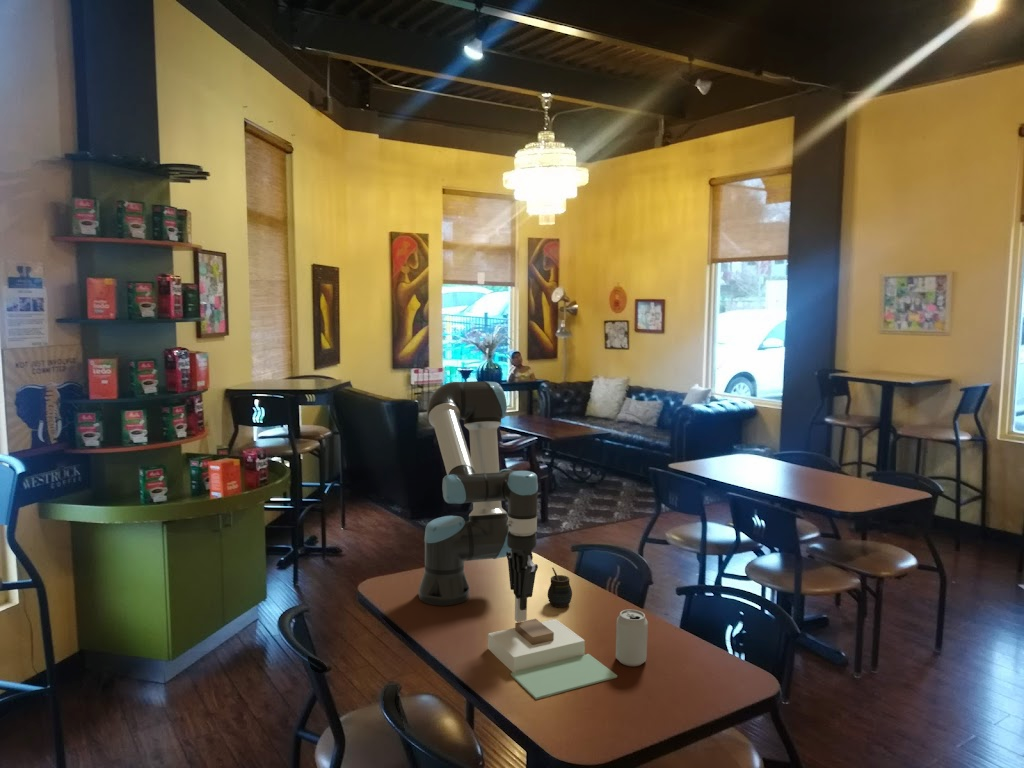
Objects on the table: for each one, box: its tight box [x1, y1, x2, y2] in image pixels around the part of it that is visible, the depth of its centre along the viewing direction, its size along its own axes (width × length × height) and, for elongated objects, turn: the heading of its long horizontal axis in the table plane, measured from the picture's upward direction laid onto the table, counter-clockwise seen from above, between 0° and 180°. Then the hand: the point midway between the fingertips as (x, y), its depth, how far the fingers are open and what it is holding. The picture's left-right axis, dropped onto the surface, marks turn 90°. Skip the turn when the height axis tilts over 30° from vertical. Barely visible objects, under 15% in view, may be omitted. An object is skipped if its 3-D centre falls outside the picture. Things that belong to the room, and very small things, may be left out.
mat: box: [510, 653, 618, 701], centre depth 169 cm, size 12×22×1 cm, turn 118°
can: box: [615, 608, 649, 667], centre depth 177 cm, size 8×8×12 cm
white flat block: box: [487, 618, 586, 673], centre depth 181 cm, size 14×20×4 cm
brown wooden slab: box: [514, 618, 554, 645], centre depth 181 cm, size 9×6×2 cm, turn 28°
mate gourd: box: [547, 567, 573, 608], centre depth 211 cm, size 7×8×10 cm
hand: (520, 620), depth 188 cm, fingers closed
